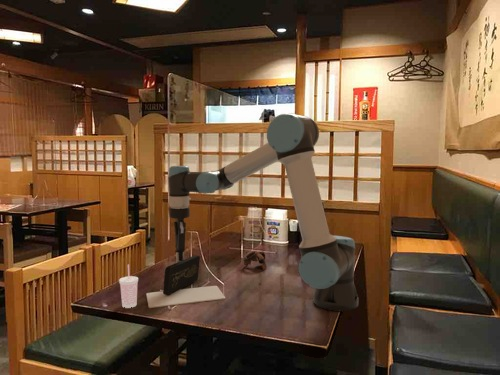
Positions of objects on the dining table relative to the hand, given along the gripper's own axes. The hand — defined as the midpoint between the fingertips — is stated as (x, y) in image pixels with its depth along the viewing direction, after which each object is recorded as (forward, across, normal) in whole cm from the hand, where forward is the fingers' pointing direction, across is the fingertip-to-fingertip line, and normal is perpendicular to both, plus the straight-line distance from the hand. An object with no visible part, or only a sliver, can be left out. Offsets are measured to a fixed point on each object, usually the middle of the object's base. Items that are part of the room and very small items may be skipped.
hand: (180, 268), depth 151 cm
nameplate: (+7, -3, 0) cm, 7 cm away
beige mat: (+7, -12, 0) cm, 14 cm away
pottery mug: (+7, +13, -35) cm, 39 cm away
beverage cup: (+7, -14, +19) cm, 25 cm away
